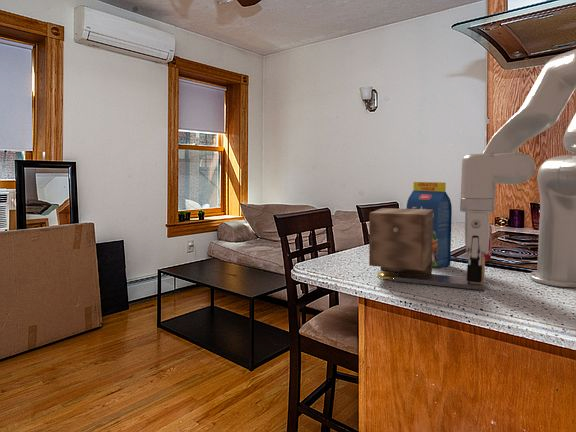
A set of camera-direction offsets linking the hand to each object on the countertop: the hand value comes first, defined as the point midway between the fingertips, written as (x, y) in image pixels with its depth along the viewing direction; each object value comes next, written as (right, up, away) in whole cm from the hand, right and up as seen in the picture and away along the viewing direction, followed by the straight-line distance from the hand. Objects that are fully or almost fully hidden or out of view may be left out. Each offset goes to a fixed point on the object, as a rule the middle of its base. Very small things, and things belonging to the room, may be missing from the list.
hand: (474, 279), depth 99 cm
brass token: (-19, -1, +10) cm, 22 cm away
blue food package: (-3, +1, +25) cm, 25 cm away
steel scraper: (-7, -1, +4) cm, 8 cm away
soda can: (+14, +1, +28) cm, 31 cm away
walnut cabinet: (-15, -1, +10) cm, 18 cm away
